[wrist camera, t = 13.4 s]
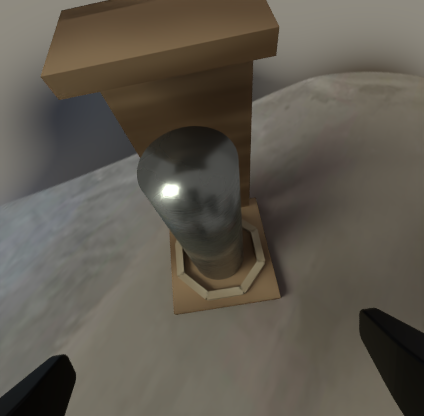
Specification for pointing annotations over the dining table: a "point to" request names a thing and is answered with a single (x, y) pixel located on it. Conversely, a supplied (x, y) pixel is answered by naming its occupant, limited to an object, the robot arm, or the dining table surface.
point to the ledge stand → (177, 102)
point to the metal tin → (197, 195)
